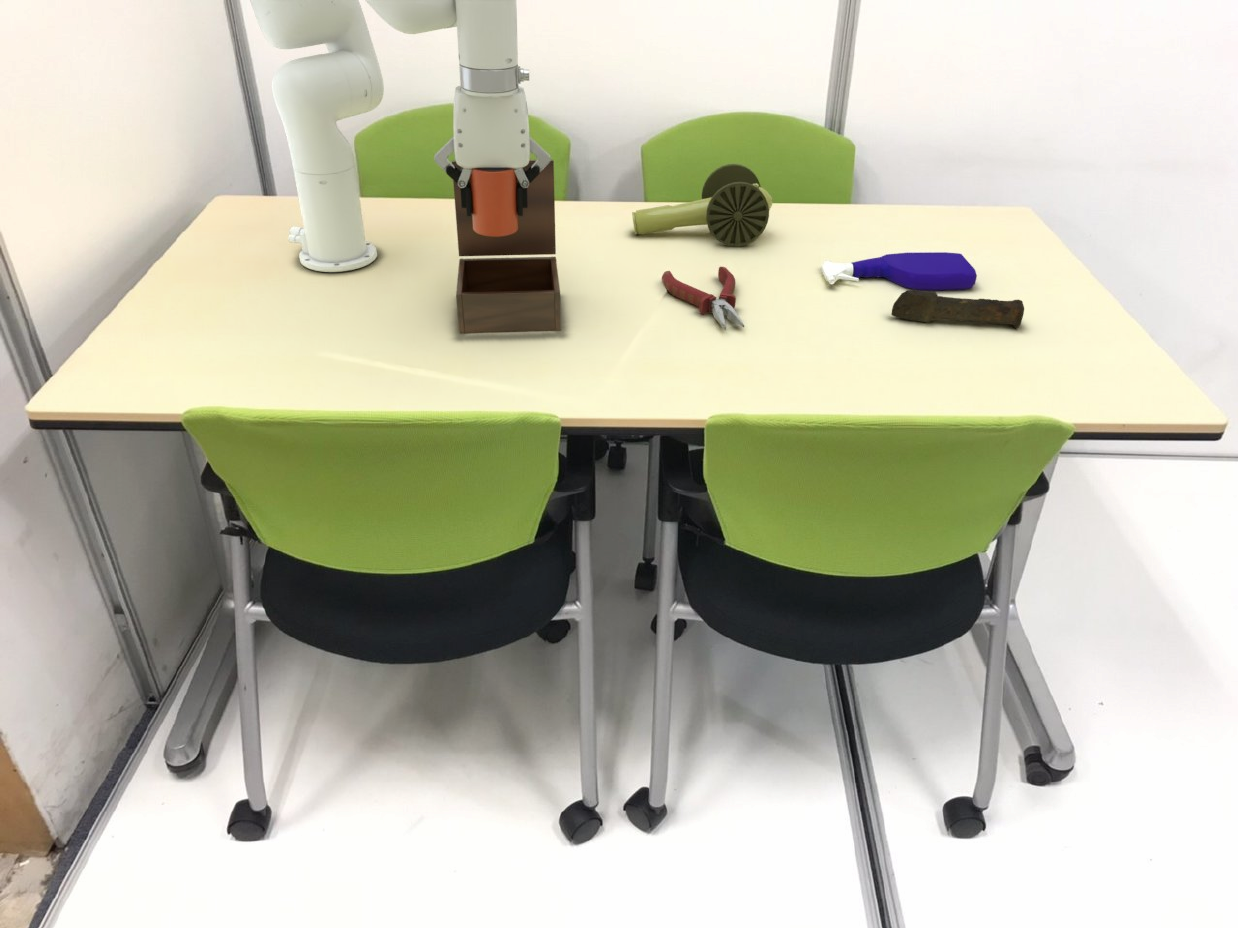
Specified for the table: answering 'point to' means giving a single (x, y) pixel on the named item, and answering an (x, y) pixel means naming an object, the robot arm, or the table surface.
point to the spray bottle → (909, 270)
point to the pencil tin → (494, 201)
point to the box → (508, 295)
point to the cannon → (716, 208)
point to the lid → (532, 226)
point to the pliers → (708, 296)
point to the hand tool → (956, 308)
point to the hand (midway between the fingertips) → (494, 211)
